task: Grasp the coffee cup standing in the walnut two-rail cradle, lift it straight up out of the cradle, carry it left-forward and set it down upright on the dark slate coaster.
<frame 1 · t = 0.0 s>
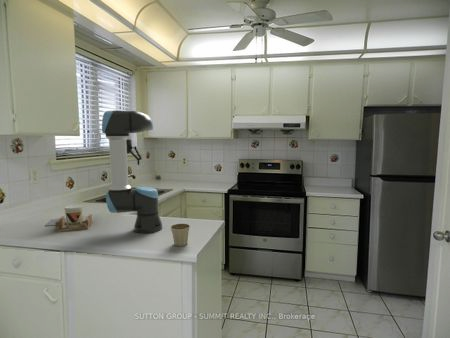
hand: (127, 170, 206), 28 cm above the counter, fingers open, 13 cm apart
flower pot: (180, 244, 141), on the counter
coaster: (59, 222, 179), on the counter
cradle: (75, 226, 170), on the counter
coffee cup: (75, 227, 170), resting in cradle
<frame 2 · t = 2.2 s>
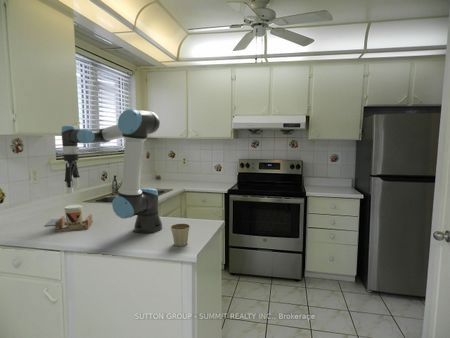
hand: (73, 190, 168), 21 cm above the counter, fingers open, 13 cm apart
nothing on the counter moved.
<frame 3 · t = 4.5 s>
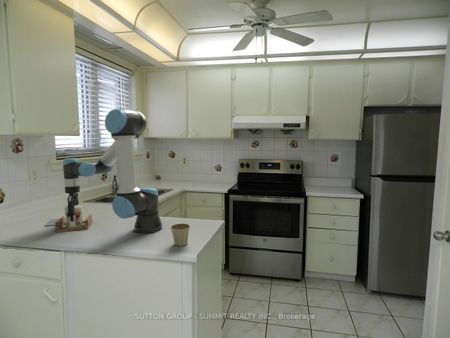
hand: (74, 224, 170), 1 cm above the counter, fingers closed on coffee cup, 9 cm apart
coffee cup: (75, 227, 170), resting in cradle, touching gripper
everything else where it was.
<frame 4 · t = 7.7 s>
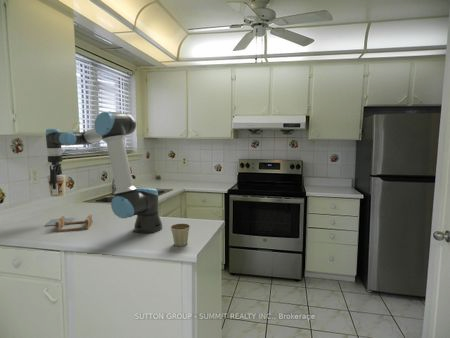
hand: (57, 192, 177), 18 cm above the counter, fingers closed on coffee cup, 9 cm apart
coffee cup: (57, 195, 177), point 17 cm above the counter, touching gripper
everything else where it was.
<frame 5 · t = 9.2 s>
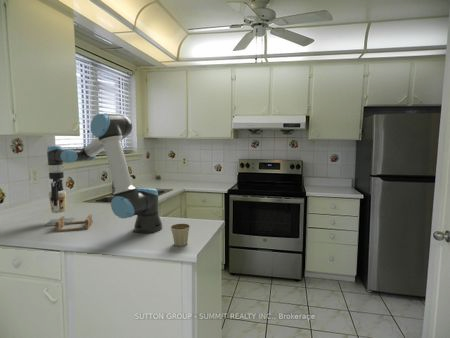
hand: (58, 209, 178), 8 cm above the counter, fingers closed on coffee cup, 9 cm apart
coffee cup: (58, 211, 178), point 7 cm above the counter, touching gripper
everything else where it was.
when the fingers open (3 cm above the counter, at t = 10.7 s): coffee cup drops 1 cm, resting on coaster.
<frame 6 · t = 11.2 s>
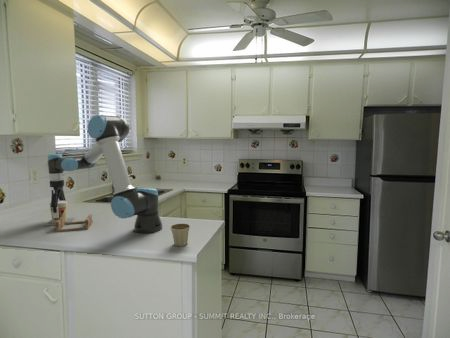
hand: (59, 214, 178), 5 cm above the counter, fingers open, 13 cm apart
coffee cup: (59, 221, 179), resting on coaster
everything else where it was.
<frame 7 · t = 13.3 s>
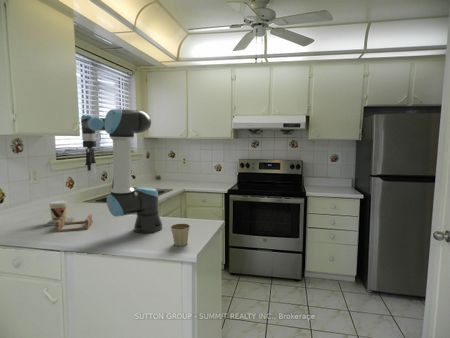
hand: (91, 174, 186), 28 cm above the counter, fingers open, 13 cm apart
nothing on the counter moved.
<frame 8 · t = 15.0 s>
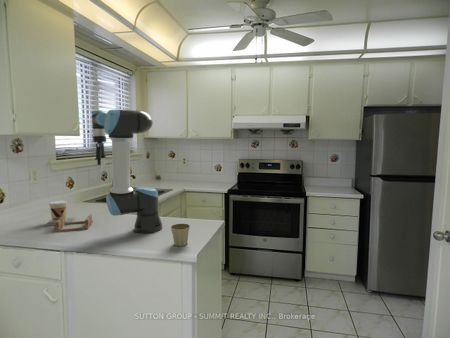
hand: (101, 169, 189), 31 cm above the counter, fingers open, 13 cm apart
nothing on the counter moved.
at the end: coffee cup 0.1 cm from the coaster (horizontally); coffee cup tilted 0°; coffee cup inside the target area on the counter beside the cradle (16.4 cm from its centre), resting on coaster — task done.
